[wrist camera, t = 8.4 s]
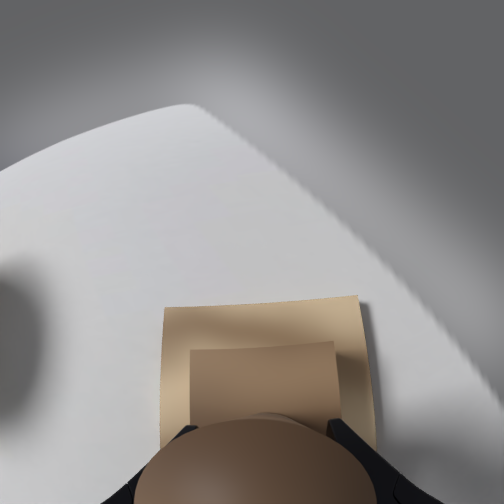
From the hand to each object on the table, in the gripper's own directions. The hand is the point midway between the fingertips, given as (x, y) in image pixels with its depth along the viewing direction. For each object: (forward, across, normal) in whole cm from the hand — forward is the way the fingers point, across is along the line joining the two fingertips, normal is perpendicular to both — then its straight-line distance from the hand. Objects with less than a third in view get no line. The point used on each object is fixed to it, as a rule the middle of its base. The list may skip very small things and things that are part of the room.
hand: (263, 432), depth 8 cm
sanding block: (+4, 0, +5) cm, 6 cm away
